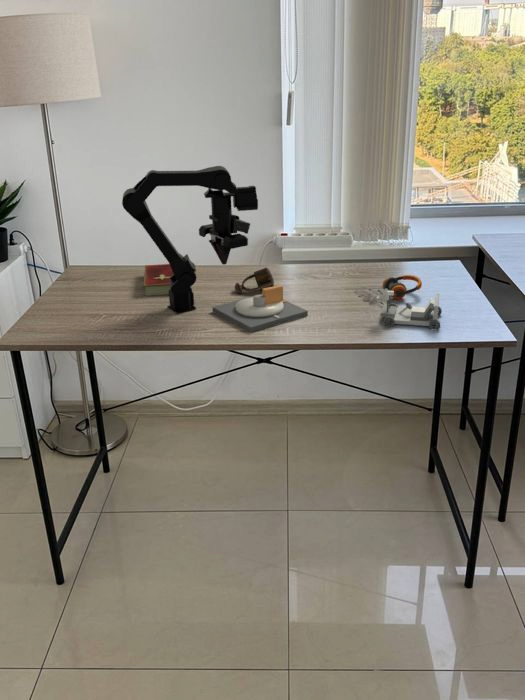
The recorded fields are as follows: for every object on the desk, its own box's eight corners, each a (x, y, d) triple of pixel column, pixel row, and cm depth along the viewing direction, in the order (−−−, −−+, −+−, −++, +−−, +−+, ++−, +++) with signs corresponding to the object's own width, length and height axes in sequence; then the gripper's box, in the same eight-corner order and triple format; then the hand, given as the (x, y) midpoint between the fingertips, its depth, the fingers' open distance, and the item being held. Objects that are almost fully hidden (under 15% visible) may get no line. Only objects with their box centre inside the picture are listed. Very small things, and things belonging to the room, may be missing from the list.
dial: (249, 320, 206) (249, 302, 203) (227, 305, 217) (226, 288, 215) (293, 310, 212) (293, 292, 210) (270, 296, 223) (269, 279, 221)
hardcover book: (181, 274, 251) (180, 262, 250) (182, 295, 232) (181, 282, 231) (146, 276, 250) (145, 264, 249) (144, 297, 231) (143, 284, 230)
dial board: (250, 332, 202) (250, 326, 202) (212, 311, 217) (212, 306, 217) (307, 315, 213) (307, 309, 212) (267, 296, 228) (267, 291, 227)
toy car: (375, 293, 201) (379, 279, 211) (373, 326, 205) (378, 311, 215) (442, 297, 197) (443, 283, 207) (439, 331, 201) (441, 315, 211)
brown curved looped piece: (274, 280, 226) (277, 263, 234) (233, 276, 226) (238, 259, 234) (273, 299, 230) (276, 282, 238) (233, 295, 231) (237, 278, 239)
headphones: (349, 283, 230) (406, 263, 232) (352, 298, 232) (408, 278, 234) (369, 301, 215) (430, 280, 218) (372, 316, 218) (432, 295, 220)
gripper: (263, 213, 207) (264, 266, 213) (229, 201, 221) (231, 251, 228) (229, 220, 201) (231, 274, 208) (196, 207, 216) (199, 258, 222)
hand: (224, 264), depth 217 cm, fingers closed
